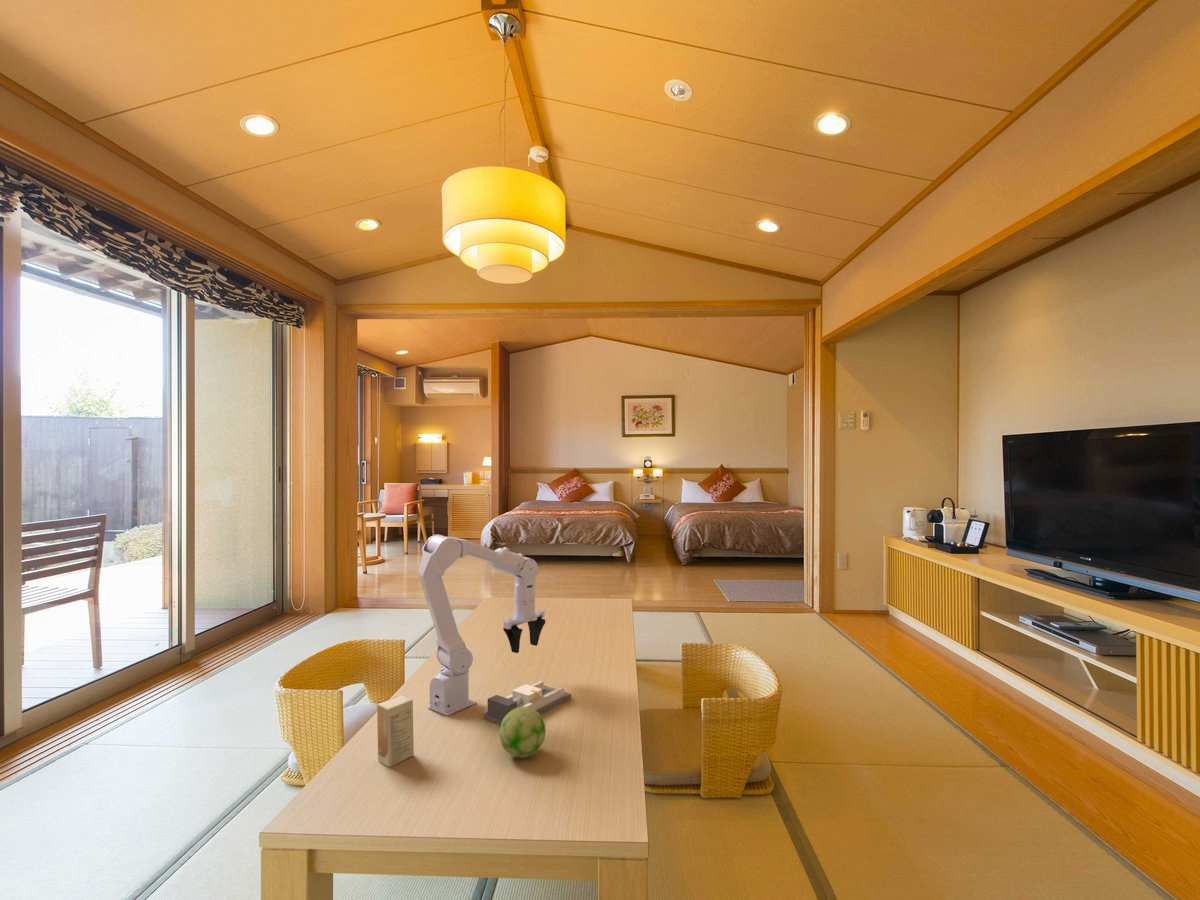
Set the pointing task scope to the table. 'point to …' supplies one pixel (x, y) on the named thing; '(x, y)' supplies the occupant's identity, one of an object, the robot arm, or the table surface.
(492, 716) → the gauge base
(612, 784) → the table surface
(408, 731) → the skincare box
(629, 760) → the table surface
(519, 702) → the gauge carriage
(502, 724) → the decorative ball
